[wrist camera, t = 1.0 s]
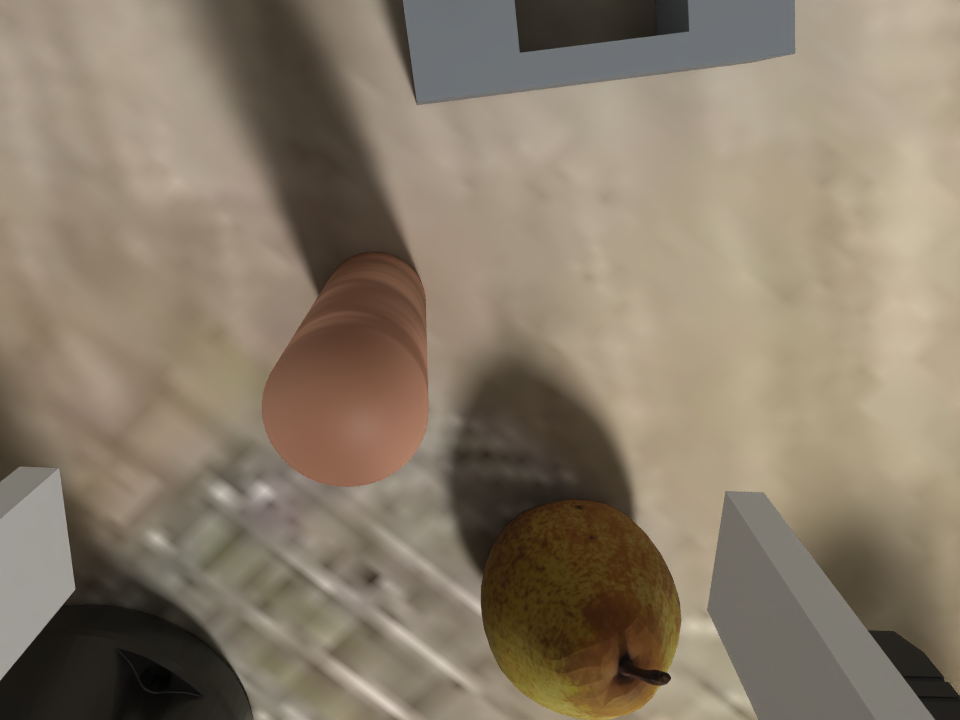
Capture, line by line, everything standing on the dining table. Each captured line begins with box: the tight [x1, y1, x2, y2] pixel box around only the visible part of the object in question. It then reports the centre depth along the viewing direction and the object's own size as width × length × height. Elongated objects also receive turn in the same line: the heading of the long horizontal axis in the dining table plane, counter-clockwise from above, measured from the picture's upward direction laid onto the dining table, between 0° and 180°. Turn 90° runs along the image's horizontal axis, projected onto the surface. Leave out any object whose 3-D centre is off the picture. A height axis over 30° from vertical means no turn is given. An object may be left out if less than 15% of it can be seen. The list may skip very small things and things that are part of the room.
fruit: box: [481, 499, 681, 720], centre depth 33 cm, size 9×9×12 cm
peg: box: [262, 252, 429, 487], centre depth 28 cm, size 4×4×14 cm
